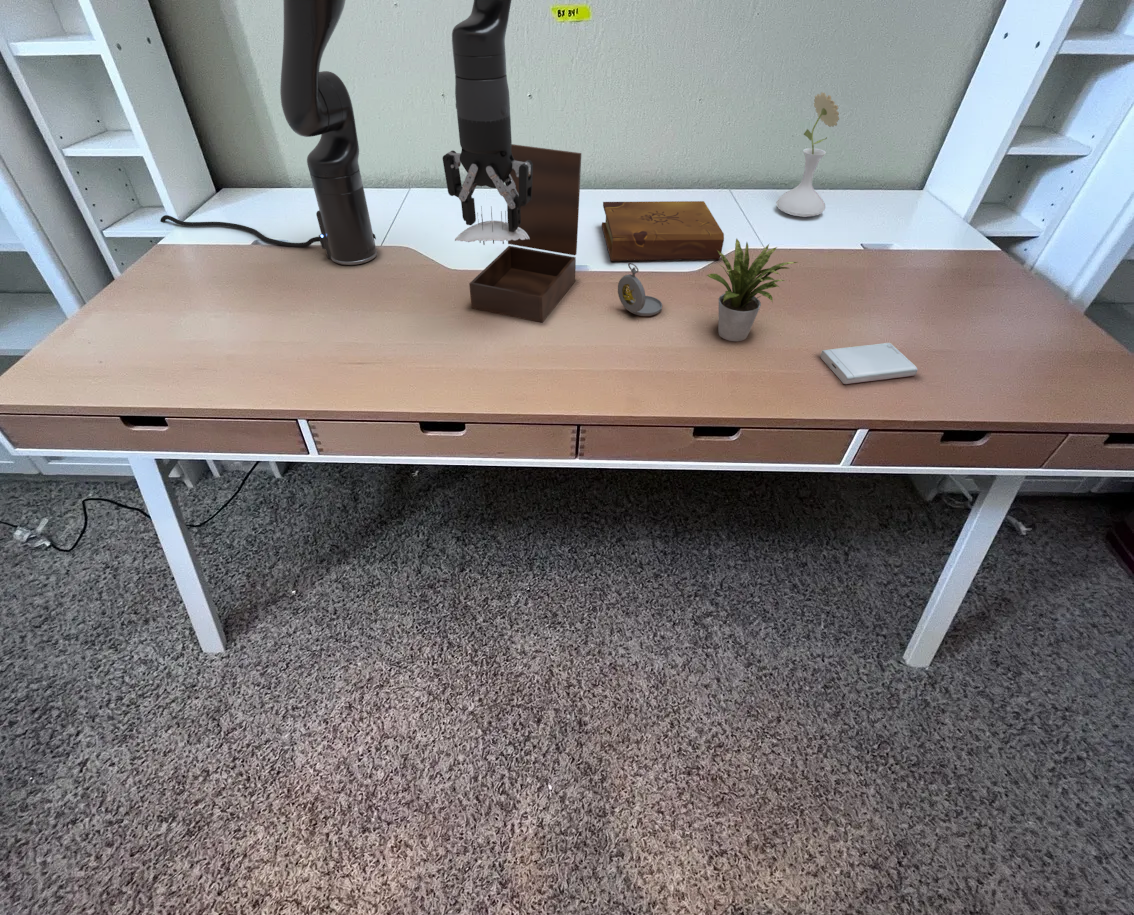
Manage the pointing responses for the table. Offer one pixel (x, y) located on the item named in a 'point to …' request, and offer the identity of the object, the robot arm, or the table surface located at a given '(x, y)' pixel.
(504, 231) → the pincushion
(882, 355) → the hard drive
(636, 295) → the pocket watch
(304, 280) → the table surface
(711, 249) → the diary
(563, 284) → the box
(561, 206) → the lid
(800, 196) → the flower in vase
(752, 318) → the house plant
